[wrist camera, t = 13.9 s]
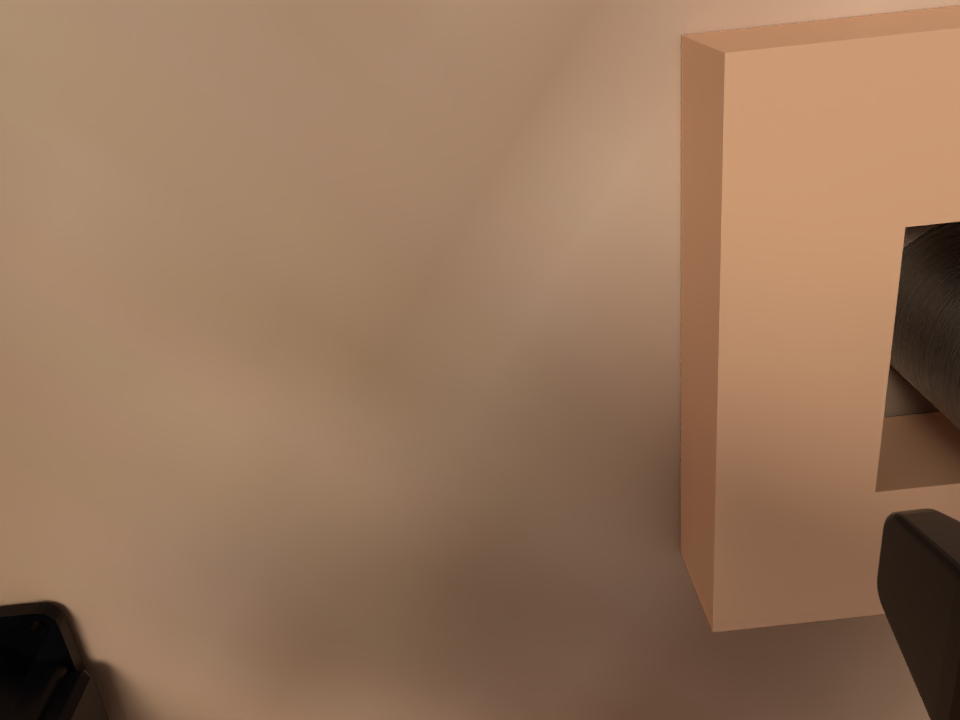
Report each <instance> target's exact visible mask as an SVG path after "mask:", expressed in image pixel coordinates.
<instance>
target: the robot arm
mask: <svg viewBox="0 0 960 720" xmlns="http://www.w3.org/2000/svg"><path fill="white" fill-rule="evenodd" d="M877 590H878V596H879V599H880V603H881V605H882V608H883V610H884V612H885V615H886V617H887V619H888V622H889V624H890V626H891V629H892V631H893V633H894V636H895V638H896V640H897V643H898V645H899V647H900V650H901V652H902V654H903V656H904V659H905V661H906V663H907V666H908V668H909V670H910V673H911V675H912V677H913V680H914V682H915V684H916V687H917V689H918V691H919V694H920V696H921V698H922V701H923V703H924V705H925V707H926V710H927V712H928V714H929V717H930V719H931V720H960V521H958V520H956V519H954V518H952V517H950V516H947V515H945V514H943V513H941V512H939V511H937V510H934V509H928V508H926V509H916V510H906V511H897V512H893V513H891V514H890V515H889V516H887V518H886V520H885V522H884V526H883V533H882V541H881V549H880V557H879V565H878V574H877ZM38 621H42V622H44V623H46V624H47V625H42V624H40V623H39V622H38ZM0 720H108V717H107V714H106V712H105V709H104V706H103V704H102V701H101V698H100V696H99V693H98V691H97V688H96V685H95V683H94V680H93V678H92V676H91V675H90V674H89V673H88V672H87V671H86V670H85V667H84V665H83V662H82V659H81V657H80V654H79V651H78V649H77V646H76V644H75V641H74V638H73V636H72V633H71V631H70V628H69V625H68V623H67V620H66V618H65V615H64V614H63V612H62V611H61V610H60V609H59V608H57V607H56V606H54V605H51V604H48V603H35V604H26V605H17V606H7V607H0Z"/></svg>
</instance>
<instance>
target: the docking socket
mask: <svg viewBox="0 0 960 720" xmlns="http://www.w3.org/2000/svg"><path fill="white" fill-rule="evenodd" d="M959 221H960V6H950V7H941V8H932V9H922V10H913V11H904V12H894V13H885V14H876V15H866V16H857V17H848V18H838V19H829V20H820V21H810V22H801V23H791V24H782V25H773V26H763V27H754V28H745V29H735V30H726V31H717V32H707V33H698V34H689V35H681V555H682V557H683V560H684V562H685V565H686V567H687V570H688V572H689V575H690V577H691V580H692V582H693V585H694V587H695V590H696V592H697V595H698V597H699V600H700V602H701V605H702V607H703V610H704V612H705V615H706V617H707V620H708V622H709V625H710V627H711V630H712V632H722V631H732V630H741V629H751V628H760V627H769V626H779V625H788V624H797V623H807V622H816V621H825V620H835V619H844V618H853V617H863V616H872V615H881V614H885V612H884V610H883V608H882V605H881V603H880V599H879V596H878V590H877V574H878V565H879V557H880V549H881V541H882V533H883V526H884V522H885V520H886V518H887V516H889V515H890V514H891V513H893V512H897V511H906V510H916V509H926V508H928V509H934V510H937V511H939V512H941V513H943V514H945V515H947V516H950V517H952V518H954V519H956V520H958V521H960V430H959V429H958V428H957V427H956V426H955V425H954V424H953V423H952V422H951V421H950V420H949V419H948V418H947V417H946V416H944V415H943V414H942V413H941V412H931V413H921V414H912V415H903V416H893V417H884V410H885V402H886V393H887V384H888V375H889V366H890V358H891V349H892V340H893V331H894V323H895V314H896V305H897V296H898V287H899V279H900V270H901V261H902V252H903V244H904V235H905V227H912V226H922V225H931V224H940V223H950V222H959Z"/></svg>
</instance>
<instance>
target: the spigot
mask: <svg viewBox="0 0 960 720" xmlns="http://www.w3.org/2000/svg"><path fill="white" fill-rule="evenodd" d="M890 365H891V366H892V367H893V368H894V369H895V370H896V371H898V372H899V373H900V374H901V375H902V376H903V377H904V378H905V379H906V380H907V381H908V382H909V383H910V384H911V385H912V386H914V387H915V388H916V389H917V390H918V391H919V392H920V393H921V394H922V395H923V396H924V397H925V398H926V399H927V400H928V401H930V402H931V403H932V404H933V405H934V406H935V407H936V408H937V409H938V410H939V411H940V412H941V413H942V414H943V415H944V416H946V417H947V418H948V419H949V420H950V421H951V422H952V423H953V424H954V425H955V426H956V427H957V428H958V429H959V430H960V221H959V222H952V223H949V224H946V225H943V226H940V227H938V228H935V229H933V230H931V231H929V232H927V233H925V234H924V235H922V236H920V237H919V238H917V239H916V240H914V241H913V242H912V243H910V244H909V245H908V246H907V247H906V248H904V249H903V252H902V261H901V270H900V279H899V287H898V296H897V305H896V314H895V323H894V331H893V340H892V349H891V358H890Z"/></svg>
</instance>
